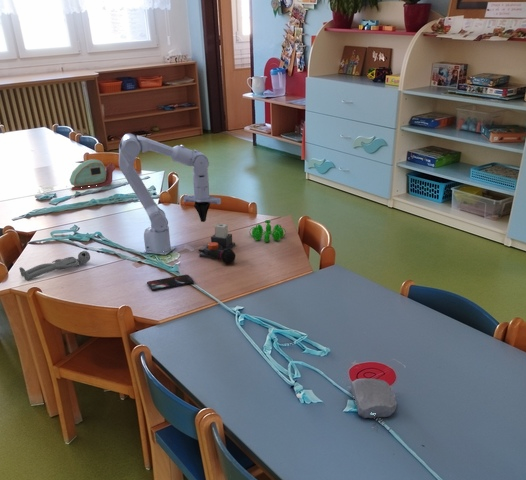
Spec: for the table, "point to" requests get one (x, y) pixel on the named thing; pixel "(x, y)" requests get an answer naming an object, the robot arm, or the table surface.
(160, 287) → the smartphone
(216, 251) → the microphone
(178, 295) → the table surface
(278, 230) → the chandelier
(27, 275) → the alien figure
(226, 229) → the block
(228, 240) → the socket
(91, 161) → the toy snail
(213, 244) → the power button
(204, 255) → the adapter
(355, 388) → the stone block
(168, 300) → the table surface
